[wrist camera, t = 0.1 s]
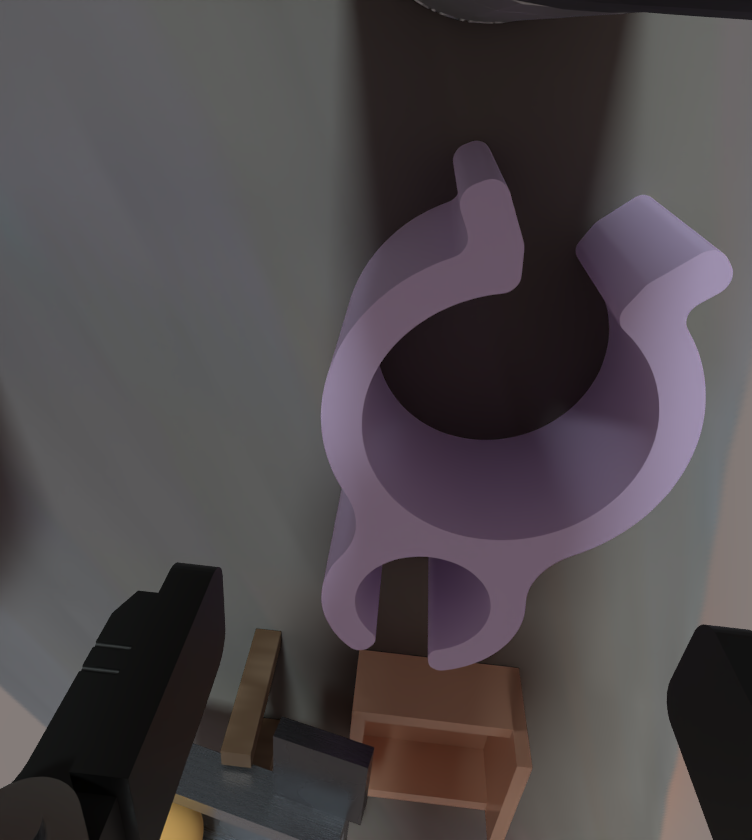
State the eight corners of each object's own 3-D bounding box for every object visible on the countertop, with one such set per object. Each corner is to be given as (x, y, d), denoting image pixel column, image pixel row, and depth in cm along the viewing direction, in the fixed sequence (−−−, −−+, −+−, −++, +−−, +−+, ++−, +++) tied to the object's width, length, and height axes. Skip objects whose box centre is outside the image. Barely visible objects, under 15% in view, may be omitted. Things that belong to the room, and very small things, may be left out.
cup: (350, 731, 42) (339, 827, 37) (359, 649, 38) (348, 746, 33) (492, 748, 42) (500, 847, 37) (518, 668, 38) (532, 768, 33)
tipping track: (152, 794, 37) (121, 847, 35) (125, 664, 31) (85, 718, 28) (356, 871, 35) (338, 934, 32) (374, 747, 28) (354, 814, 26)
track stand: (258, 727, 43) (229, 849, 37) (256, 628, 37) (220, 751, 31) (280, 730, 43) (254, 852, 37) (281, 631, 37) (250, 754, 31)
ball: (144, 765, 33) (99, 846, 30) (214, 786, 33) (176, 871, 29) (152, 804, 35) (111, 884, 32) (218, 824, 35) (184, 907, 31)
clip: (512, 578, 34) (529, 693, 28) (289, 519, 33) (258, 625, 27) (720, 218, 23) (816, 282, 18) (401, 114, 22) (390, 145, 17)
